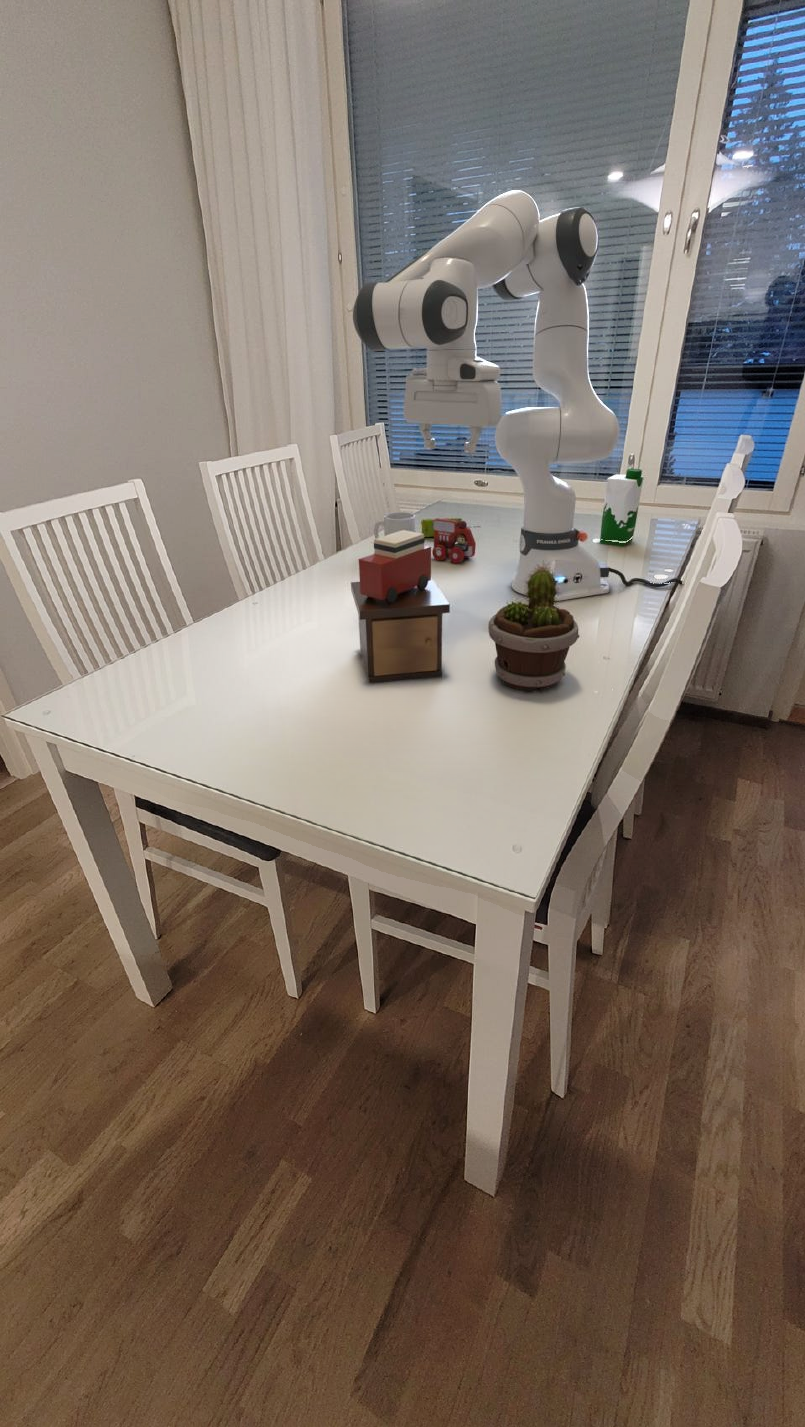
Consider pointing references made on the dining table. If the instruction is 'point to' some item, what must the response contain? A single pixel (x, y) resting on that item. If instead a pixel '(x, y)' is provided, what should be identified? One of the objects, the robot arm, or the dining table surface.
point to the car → (395, 566)
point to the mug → (395, 523)
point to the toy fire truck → (452, 540)
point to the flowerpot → (533, 636)
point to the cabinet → (401, 634)
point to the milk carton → (621, 507)
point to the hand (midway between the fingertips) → (449, 450)
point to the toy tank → (428, 526)
